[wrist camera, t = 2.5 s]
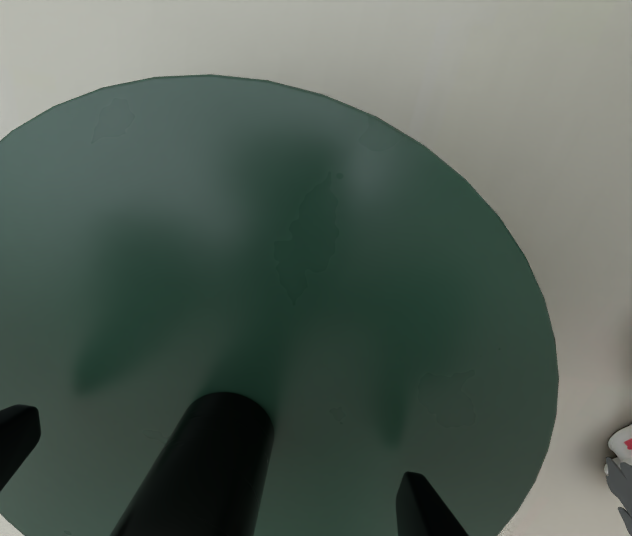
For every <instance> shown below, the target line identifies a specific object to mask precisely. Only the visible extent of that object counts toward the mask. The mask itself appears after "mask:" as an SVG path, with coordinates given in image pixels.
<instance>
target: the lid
mask: <svg viewBox="0 0 632 536" xmlns="http://www.w3.org/2000/svg"><path fill="white" fill-rule="evenodd" d="M558 383H559V375H558V365H557V354H556V344H555V337H554V333H553V330H552V326H551V322H550V318H549V315H548V311H547V307H546V303H545V299H544V297H543V295H542V292H541V290H540V288H539V286H538V283H537V281H536V279H535V277H534V275H533V272H532V270H531V268H530V266H529V263H528V261H527V259H526V257H525V255H524V254H523V252H522V251H521V249H520V248H519V246H518V245H517V243H516V242H515V240H514V238H513V237H512V235H511V234H510V232H509V231H508V229H507V228H506V226H505V225H504V223H503V222H502V220H501V219H500V217H499V216H498V215H497V214H496V213H495V211H494V210H493V209H492V208H491V207H490V206H489V205H488V204H487V203H486V202H485V200H484V199H483V198H482V197H481V196H480V195H479V194H478V193H477V192H476V190H475V189H474V188H473V187H472V186H471V185H470V184H469V183H468V182H467V180H466V179H465V178H463V177H462V176H461V175H460V174H458V173H457V172H456V171H455V170H454V169H452V168H451V167H450V166H449V165H447V164H446V163H445V162H444V161H443V160H441V159H440V158H439V157H438V156H436V155H435V154H434V153H433V152H432V151H430V150H429V149H428V148H427V147H426V146H424V145H423V144H421V143H419V142H418V141H416V140H414V139H413V138H411V137H409V136H408V135H406V134H404V133H403V132H401V131H399V130H398V129H396V128H394V127H393V126H391V125H389V124H388V123H386V122H384V121H383V120H381V119H379V118H378V117H376V116H374V115H371V114H369V113H366V112H364V111H362V110H359V109H357V108H354V107H352V106H350V105H347V104H345V103H342V102H340V101H338V100H335V99H333V98H330V97H328V96H326V95H323V94H319V93H315V92H311V91H307V90H304V89H300V88H296V87H292V86H288V85H284V84H280V83H276V82H272V81H269V80H260V79H250V78H241V77H231V76H222V75H212V74H208V75H186V76H164V77H152V78H147V79H143V80H138V81H133V82H128V83H123V84H118V85H113V86H108V87H103V88H100V89H98V90H95V91H92V92H90V93H87V94H85V95H82V96H79V97H77V98H74V99H71V100H69V101H66V102H64V103H61V104H58V105H56V106H53V107H52V108H50V109H48V110H46V111H45V112H43V113H41V114H40V115H38V116H36V117H35V118H33V119H31V120H30V121H28V122H26V123H24V124H23V125H21V126H19V127H18V128H16V129H14V130H13V131H11V132H10V133H9V134H8V135H7V136H5V137H4V138H3V139H2V140H1V141H0V410H3V409H5V408H8V407H10V406H13V405H17V404H23V405H29V406H34V407H36V408H37V409H38V411H39V418H40V426H41V437H40V440H39V442H38V444H37V445H36V447H35V448H34V449H33V451H32V452H31V453H30V454H29V456H28V457H27V458H26V460H25V461H24V462H23V463H22V465H21V466H20V467H19V469H18V470H17V471H16V472H15V474H14V475H13V476H12V478H11V479H10V480H9V482H8V483H7V484H6V485H5V487H4V488H3V489H2V491H1V492H0V514H1V515H2V516H3V517H4V518H5V519H6V520H7V521H8V522H9V523H11V524H12V525H13V526H14V527H15V528H16V529H18V530H19V531H20V532H21V533H22V534H23V535H25V536H398V529H397V517H396V496H397V492H398V490H399V487H400V484H401V481H402V478H403V475H404V473H405V472H406V471H410V472H415V473H420V474H423V475H424V476H425V477H426V478H427V480H428V481H429V483H430V484H431V485H432V487H433V488H434V489H435V491H436V492H437V493H438V495H439V496H440V497H441V499H442V500H443V501H444V503H445V504H446V505H447V507H448V508H449V509H450V511H451V512H452V513H453V515H454V516H455V517H456V519H457V520H458V521H459V523H460V524H461V525H462V527H463V528H464V529H465V531H466V532H467V533H468V535H469V536H497V535H498V534H499V533H500V532H501V530H502V529H503V528H504V527H505V526H506V524H507V523H508V522H509V521H510V519H511V518H512V517H513V516H514V515H515V513H516V512H517V511H518V509H519V508H520V506H521V504H522V503H523V501H524V499H525V498H526V496H527V494H528V493H529V491H530V489H531V488H532V486H533V484H534V483H535V481H536V478H537V476H538V473H539V471H540V468H541V466H542V464H543V461H544V459H545V456H546V454H547V452H548V448H549V444H550V440H551V435H552V431H553V427H554V423H555V419H556V411H557V397H558Z"/></svg>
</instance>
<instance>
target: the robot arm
mask: <svg viewBox="0 0 632 536" xmlns="http://www.w3.org/2000/svg"><path fill="white" fill-rule="evenodd" d="M40 437H41V426H40V418H39V411H38V409H37V408H36V407H34V406H29V405H23V404H17V405H13V406H10V407H8V408H5V409H3V410H0V492H1V491H2V489H3V488H4V487H5V485H6V484H7V483H8V482H9V480H10V479H11V478H12V476H13V475H14V474H15V472H16V471H17V470H18V469H19V467H20V466H21V465H22V463H23V462H24V461H25V460H26V458H27V457H28V456H29V454H30V453H31V452H32V451H33V449H34V448H35V447H36V445H37V444H38V442H39V440H40ZM396 517H397V529H398V536H469V535H468V533H467V532H466V531H465V529H464V528H463V527H462V525H461V524H460V523H459V521H458V520H457V519H456V517H455V516H454V515H453V513H452V512H451V511H450V509H449V508H448V507H447V505H446V504H445V503H444V501H443V500H442V499H441V497H440V496H439V495H438V493H437V492H436V491H435V489H434V488H433V487H432V485H431V484H430V483H429V481H428V480H427V478H426V477H425V476H424V475H423V474H420V473H415V472H410V471H406V472H405V473H404V475H403V478H402V481H401V484H400V487H399V490H398V492H397V496H396Z"/></svg>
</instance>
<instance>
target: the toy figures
mask: <svg viewBox="0 0 632 536" xmlns="http://www.w3.org/2000/svg"><path fill="white" fill-rule="evenodd" d="M608 446H609V448H610V449H611V450H612V451H614V453H615V454H616V455H617V456H618V457H616V458H614V459H611V458H610V457H606V462H607V464H606V465H605V467H604V471H605V473H606V474H607V475H608V476H606V479H607V480H606V481H607V484H608V486H609V489H610V490H611V492H612V493H613V494H614V495H615V496H616V497H618V498H619V500H620V501H621V503H622V504H623V506H624V507H625V508H626V510H627V511H626V510H625V509H624V508H622V507H618V510H619V513H620V514H621V516H622V518H623V521H624V523H625V525H626V528H627V530H628V532H629V534H630V535H631V536H632V424H631V425H630V426H628V427H626V428H623V429H621V430H619V431H618V432H616V433H615V434H614V435H613V436H612V437H611V438H610V440H609V442H608Z"/></svg>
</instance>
